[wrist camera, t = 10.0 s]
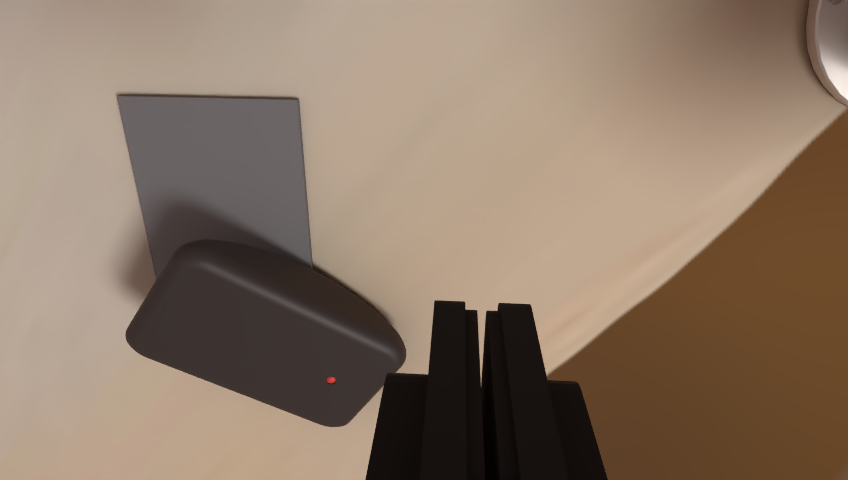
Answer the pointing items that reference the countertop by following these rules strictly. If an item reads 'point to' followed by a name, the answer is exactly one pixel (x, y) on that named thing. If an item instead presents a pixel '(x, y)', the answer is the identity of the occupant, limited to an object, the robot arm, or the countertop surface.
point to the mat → (219, 172)
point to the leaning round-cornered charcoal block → (266, 331)
